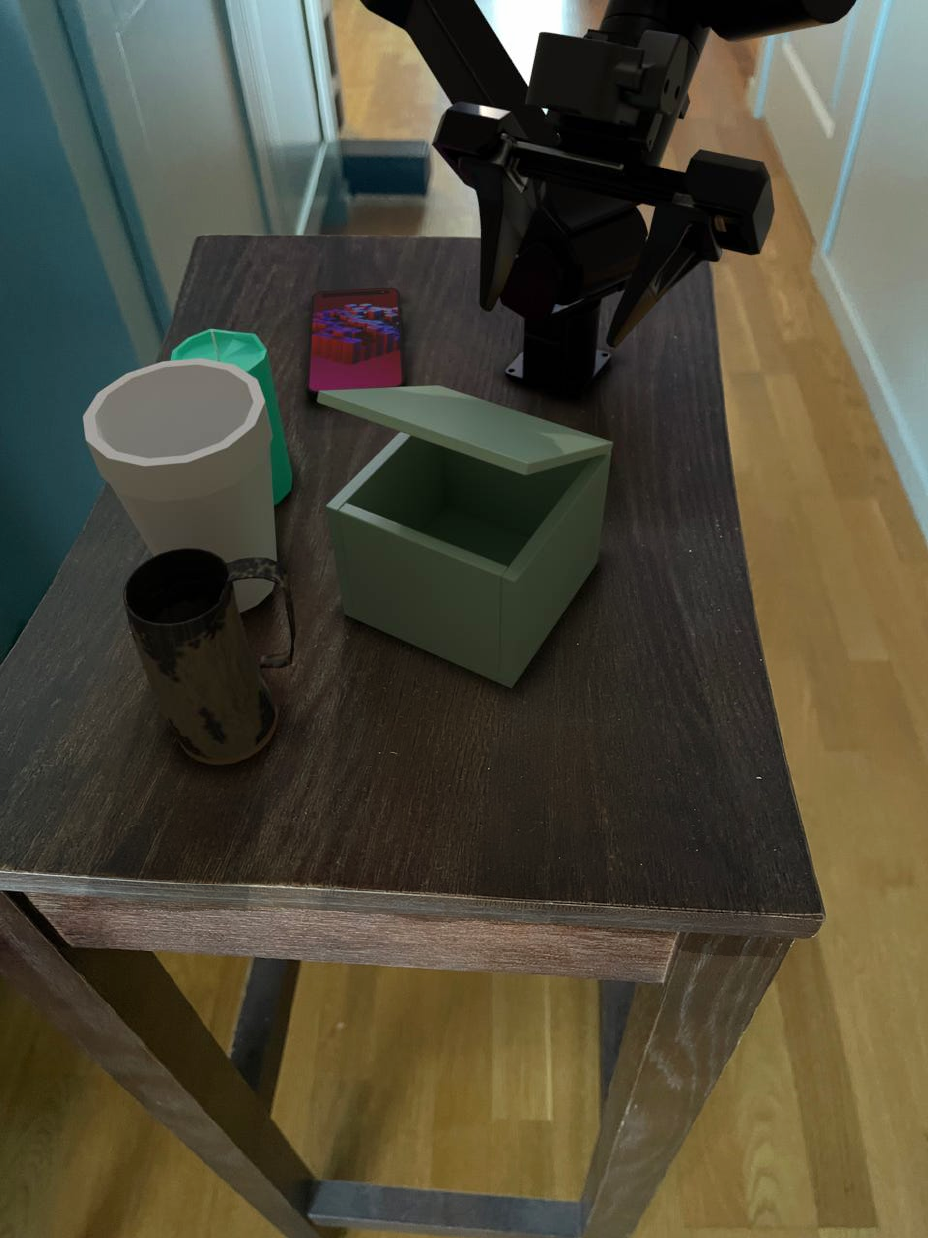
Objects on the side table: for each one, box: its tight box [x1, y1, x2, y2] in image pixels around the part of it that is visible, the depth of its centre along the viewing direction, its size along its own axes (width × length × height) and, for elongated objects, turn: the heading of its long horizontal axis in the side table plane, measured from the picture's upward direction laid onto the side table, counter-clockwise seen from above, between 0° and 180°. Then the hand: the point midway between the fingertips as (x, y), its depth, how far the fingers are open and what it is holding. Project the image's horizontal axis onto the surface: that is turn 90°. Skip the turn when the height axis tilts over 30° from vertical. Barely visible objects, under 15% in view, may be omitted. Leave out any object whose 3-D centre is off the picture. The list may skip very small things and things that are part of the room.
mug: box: [122, 548, 297, 766], centre depth 46 cm, size 8×6×12 cm
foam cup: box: [82, 358, 278, 614], centre depth 53 cm, size 10×9×13 cm
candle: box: [169, 328, 293, 506], centre depth 60 cm, size 6×6×12 cm
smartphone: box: [305, 286, 406, 401], centre depth 75 cm, size 8×1×15 cm
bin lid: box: [316, 384, 614, 475], centre depth 48 cm, size 12×12×1 cm
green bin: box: [325, 431, 612, 689], centre depth 54 cm, size 12×12×9 cm
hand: (545, 326), depth 52 cm, fingers open, 8 cm apart
